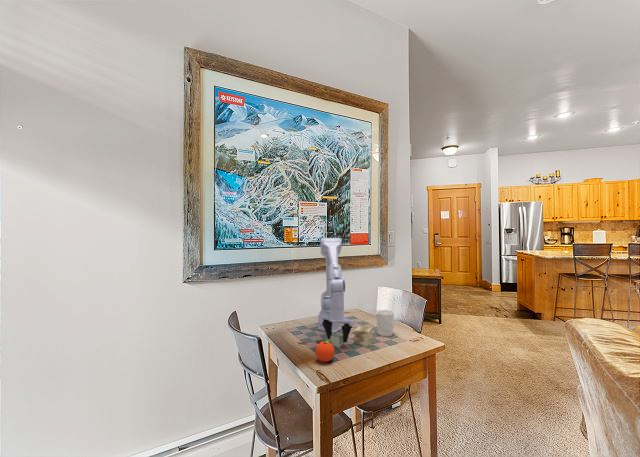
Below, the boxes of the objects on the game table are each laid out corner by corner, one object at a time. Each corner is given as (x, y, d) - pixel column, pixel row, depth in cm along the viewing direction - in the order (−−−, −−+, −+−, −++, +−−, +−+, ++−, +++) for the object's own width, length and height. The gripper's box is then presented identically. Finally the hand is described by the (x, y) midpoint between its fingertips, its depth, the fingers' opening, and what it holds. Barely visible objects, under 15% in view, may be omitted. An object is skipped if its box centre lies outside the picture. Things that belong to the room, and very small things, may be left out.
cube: (330, 345, 122) (330, 335, 122) (335, 342, 125) (335, 333, 125) (339, 347, 120) (338, 337, 120) (343, 344, 123) (343, 334, 123)
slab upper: (354, 337, 123) (354, 330, 123) (358, 332, 129) (358, 326, 129) (368, 339, 121) (368, 332, 121) (372, 334, 127) (371, 327, 127)
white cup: (394, 337, 130) (394, 314, 130) (376, 336, 132) (376, 314, 132) (393, 331, 138) (393, 310, 138) (376, 330, 140) (376, 309, 140)
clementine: (325, 354, 113) (325, 335, 113) (340, 359, 109) (339, 340, 109) (311, 361, 107) (311, 342, 107) (326, 367, 103) (326, 346, 103)
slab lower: (353, 344, 124) (353, 336, 124) (360, 339, 129) (360, 332, 129) (366, 347, 120) (366, 339, 121) (372, 342, 125) (372, 335, 125)
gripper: (317, 307, 123) (317, 339, 123) (347, 312, 115) (348, 347, 115) (326, 303, 129) (326, 334, 129) (355, 308, 121) (356, 341, 121)
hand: (337, 340), depth 122 cm, fingers open, 7 cm apart
